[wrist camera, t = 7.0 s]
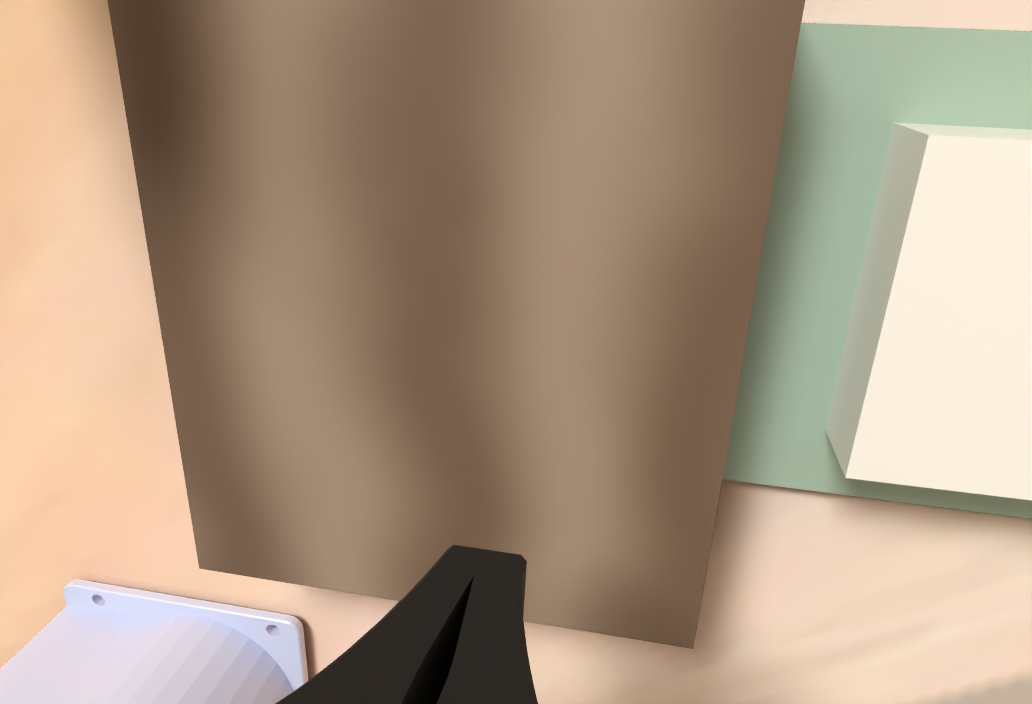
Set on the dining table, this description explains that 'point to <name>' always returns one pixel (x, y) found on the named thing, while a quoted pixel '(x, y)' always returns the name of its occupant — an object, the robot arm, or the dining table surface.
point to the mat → (850, 231)
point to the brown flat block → (458, 282)
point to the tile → (943, 318)
